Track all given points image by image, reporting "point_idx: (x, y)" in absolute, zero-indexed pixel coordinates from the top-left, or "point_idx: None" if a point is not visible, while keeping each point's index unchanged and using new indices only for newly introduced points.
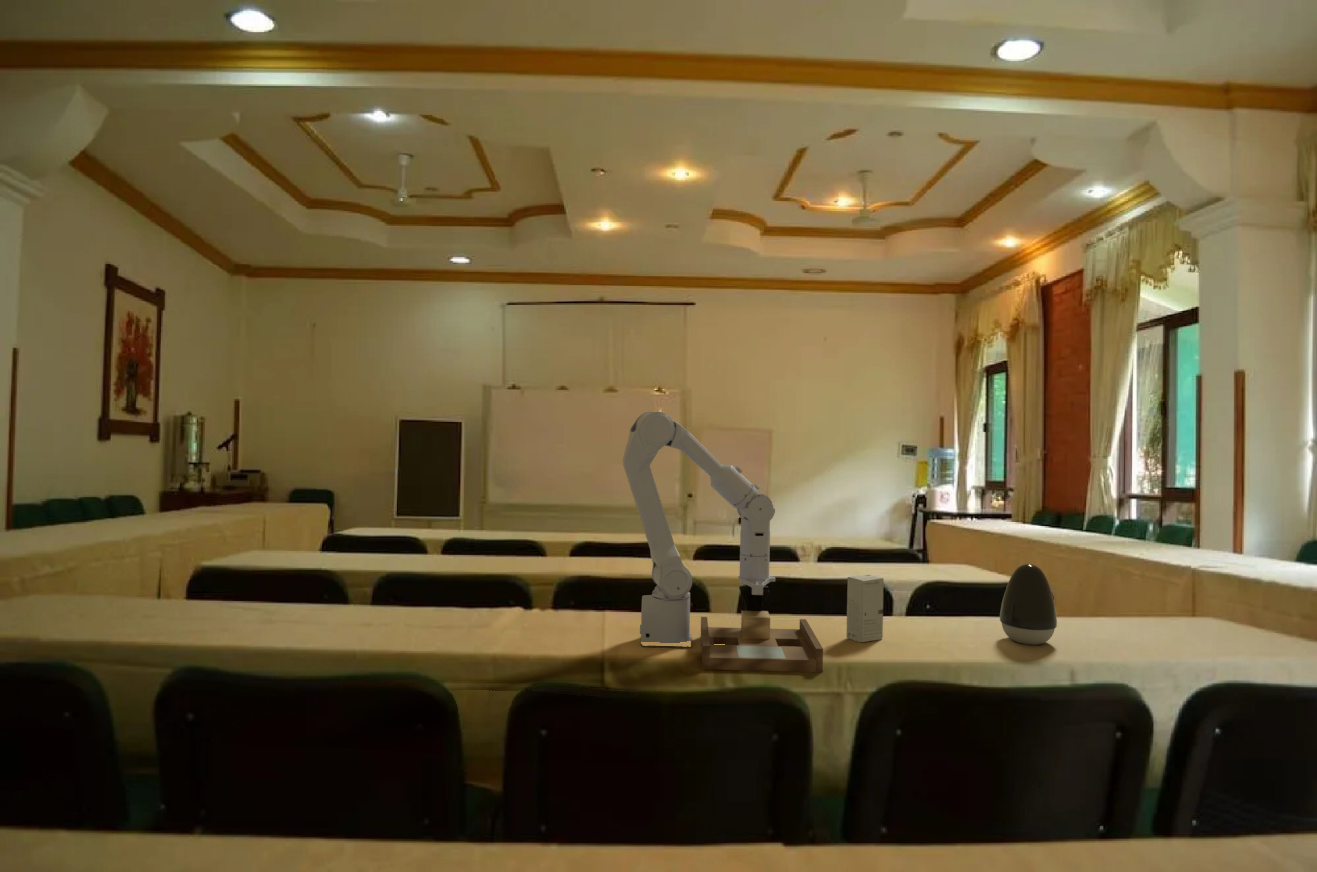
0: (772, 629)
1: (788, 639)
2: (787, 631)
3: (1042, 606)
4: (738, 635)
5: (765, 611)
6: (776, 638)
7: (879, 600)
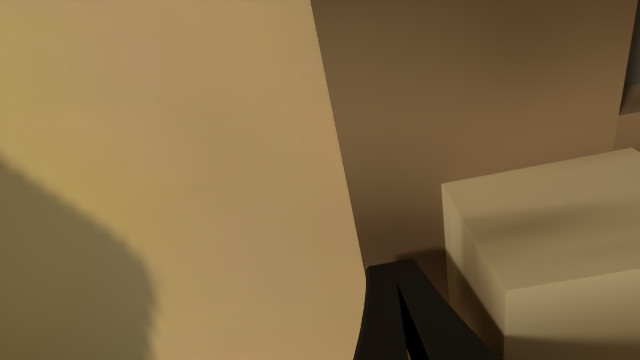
0: (367, 158)
1: (630, 9)
2: (402, 40)
3: None
4: None
5: (521, 305)
6: (617, 105)
7: None
